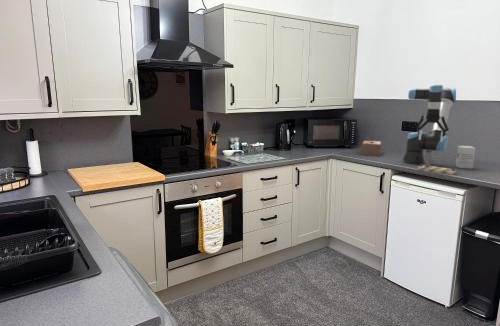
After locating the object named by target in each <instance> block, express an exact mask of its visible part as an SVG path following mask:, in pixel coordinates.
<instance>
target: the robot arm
mask: <svg viewBox="0 0 500 326" xmlns="http://www.w3.org/2000/svg"><path fill="white" fill-rule="evenodd" d="M407 94H408V95H407V96H408V97H407V98H408V99H409V100H420V101H422V102H427V108H428V109H427V112H426V115H421V117H420V120H419V121H418V122H417V125H416V126H415V127H414V128H415V130H417V131H416V132H409V133H408V134H407V138H406V140H407V141H406V151H405V154H404V156H403V158H402V162H403V163H405V164H410V165H411V164H412V165H420V164H423V165H425V160H426V158H425V156H424V151H427V150H432V151H435V152H444V151H445V150H446V149H447V146H448V143H449V138H450V137H449V135H448V134H447V131H449V130H450V129H449V126H448V124H447V123H448V120H449V114H450V109H451V108H452V107H453V105H454V104H456V103H457V89H456V88H455V87H444V86H443V84H431V85H430V86H429V88H410V89H408V93H407ZM425 119H426V120H425ZM423 121H424V122H423ZM422 123H423V124H422ZM431 123H432V130H430V131H429V134H428V133H426V131H423V130H422V129H423V128H424V127H426V125H427V124H431Z"/></svg>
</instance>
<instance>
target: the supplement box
mask: <svg viewBox="0 0 500 326" xmlns="http://www.w3.org/2000/svg"><path fill="white" fill-rule="evenodd" d="M475 156H476V147H473V146H472V145H457V152H456V160H455V166H456V167H457V168H459V169H471V170H472V169H474V165H475V164H474V162H475Z"/></svg>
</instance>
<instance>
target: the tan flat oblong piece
mask: <svg viewBox="0 0 500 326" xmlns="http://www.w3.org/2000/svg"><path fill="white" fill-rule="evenodd" d="M417 171H422V172H423V171H424V172H432V173H437V174H444V175H445V174H446V175H454V174H456V173H457V169H456V167H452V168H448V167H440V166H435V165H433V166H432V165H430V167H425V164H418V167H417Z"/></svg>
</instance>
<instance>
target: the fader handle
mask: <svg viewBox="0 0 500 326" xmlns="http://www.w3.org/2000/svg"><path fill="white" fill-rule="evenodd" d="M432 152H433V150H425V163H424V165H425V167H430V166H431V162H432V161H431V160H432V155H433V154H432Z"/></svg>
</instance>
